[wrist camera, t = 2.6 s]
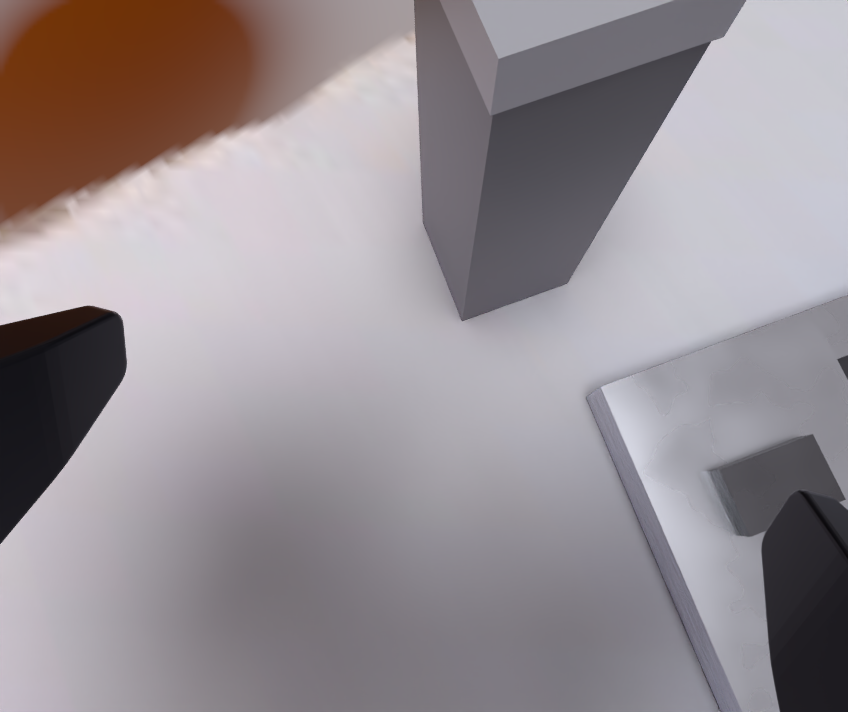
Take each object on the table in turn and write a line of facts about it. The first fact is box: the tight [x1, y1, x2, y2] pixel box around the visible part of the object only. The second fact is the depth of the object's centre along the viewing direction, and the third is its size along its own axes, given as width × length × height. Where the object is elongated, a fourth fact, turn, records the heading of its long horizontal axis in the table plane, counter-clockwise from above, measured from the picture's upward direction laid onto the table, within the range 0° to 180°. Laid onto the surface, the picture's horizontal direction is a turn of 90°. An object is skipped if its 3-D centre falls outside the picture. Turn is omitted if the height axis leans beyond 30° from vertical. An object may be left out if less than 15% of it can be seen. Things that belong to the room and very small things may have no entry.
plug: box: [414, 0, 746, 321], centre depth 17 cm, size 4×4×14 cm
